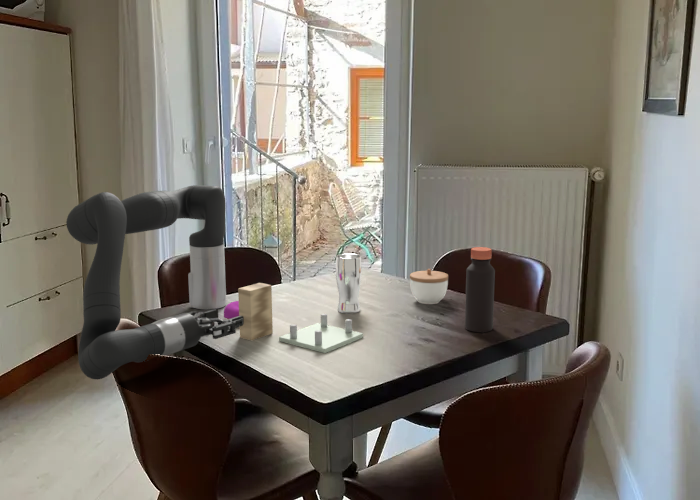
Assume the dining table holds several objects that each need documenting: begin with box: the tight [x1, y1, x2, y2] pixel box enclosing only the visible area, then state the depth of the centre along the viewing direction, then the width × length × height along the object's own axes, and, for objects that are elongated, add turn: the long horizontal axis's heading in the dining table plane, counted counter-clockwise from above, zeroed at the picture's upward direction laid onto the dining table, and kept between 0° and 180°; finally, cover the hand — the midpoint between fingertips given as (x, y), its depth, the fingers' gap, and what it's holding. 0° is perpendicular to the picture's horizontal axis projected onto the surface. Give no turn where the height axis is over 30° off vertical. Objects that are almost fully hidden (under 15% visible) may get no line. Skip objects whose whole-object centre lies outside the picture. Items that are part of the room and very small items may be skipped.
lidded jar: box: [409, 268, 449, 305], centre depth 197 cm, size 11×11×9 cm
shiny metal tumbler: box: [335, 253, 363, 315], centre depth 188 cm, size 7×7×15 cm
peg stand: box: [278, 313, 364, 354], centre depth 165 cm, size 14×14×4 cm
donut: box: [223, 300, 239, 319], centre depth 181 cm, size 10×10×5 cm
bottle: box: [464, 246, 496, 333], centre depth 171 cm, size 7×7×20 cm
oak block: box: [237, 282, 274, 342], centre depth 167 cm, size 7×4×12 cm, turn 142°
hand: (229, 316), depth 161 cm, fingers open, 8 cm apart
